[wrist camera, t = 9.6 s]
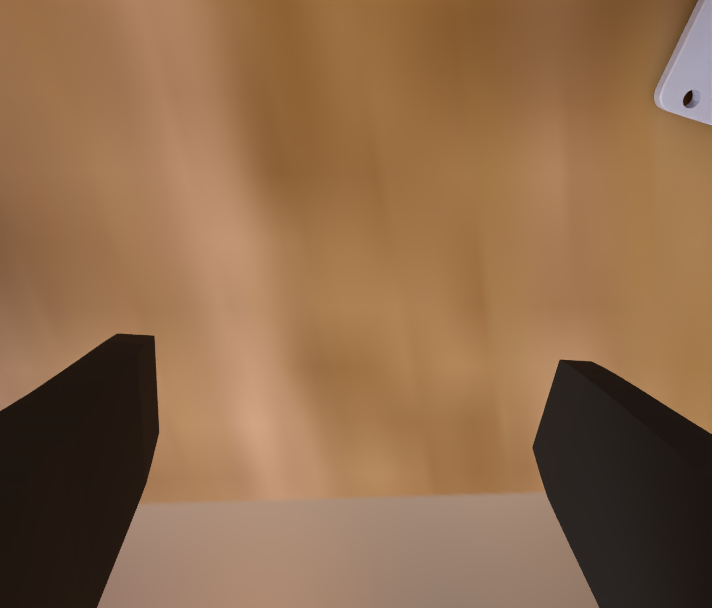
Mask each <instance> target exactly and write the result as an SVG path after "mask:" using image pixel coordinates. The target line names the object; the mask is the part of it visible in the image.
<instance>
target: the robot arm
mask: <svg viewBox="0 0 712 608" xmlns="http://www.w3.org/2000/svg"><path fill="white" fill-rule="evenodd" d="M690 90H692V93H693V97H692V100H691V101H690V103H689V104H687V105H685V106H684V105H683V98H684V96H685V94H686V93H687V92H689V91H690ZM654 101H655V103H656V105H657V107H659V108H661V109H662V110H665V111H668V112H672V113H675V114H678V115H681V116H684V117H687V118H690V119H693V120H696V121H699V122H703V123H706V124H709V125H712V0H698V2H697V4H696V6H695V8H694V10H693V12H692V14H691V16H690V18H689V21H688V23H687V25H686V27H685V29H684V31H683V33H682V35H681V37H680V39H679V41H678V43H677V46H676V48H675V50H674V52H673V54H672V56H671V58H670V60H669V62H668V64H667V66H666V68H665V70H664V73H663V75H662V77H661V79H660V81H659V83H658V85H657V87H656V90H655V93H654ZM158 435H159V419H158V399H157V379H156V359H155V339H154V336H149V335H132V334H116V335H114V336H113V337H111V338H109V339H108V340H106V341H105V342H103V343H102V344H100V345H99V346H98V347H96V348H95V349H93V350H92V351H90V352H89V353H88V354H86V355H85V356H83V357H82V358H80V359H79V360H78V361H76V362H75V363H73V364H72V365H70V366H69V367H68V368H66V369H65V370H63V371H62V372H60V373H59V374H57V375H56V376H54V377H53V378H51V379H50V380H48V381H47V382H46V383H44V384H43V385H41V386H40V387H38V388H37V389H35V390H34V391H32V392H31V393H29V394H28V395H26V396H24V397H23V398H21V399H19V400H18V401H16V402H15V403H13V404H11V405H10V406H8V407H6V408H5V409H3V410H2V411H0V608H97V606H98V603H99V601H100V598H101V596H102V593H103V591H104V588H105V586H106V584H107V581H108V579H109V576H110V573H111V571H112V569H113V566H114V564H115V561H116V559H117V556H118V554H119V551H120V549H121V546H122V543H123V541H124V539H125V536H126V534H127V531H128V529H129V526H130V524H131V521H132V519H133V516H134V513H135V511H136V508H137V506H138V503H139V501H140V498H141V496H142V493H143V490H144V488H145V485H146V482H147V478H148V475H149V471H150V467H151V463H152V459H153V455H154V451H155V447H156V443H157V439H158ZM532 448H533V451H534V455H535V458H536V462H537V465H538V469H539V472H540V475H541V478H542V481H543V485H544V488H545V491H546V494H547V497H548V499H549V501H550V503H551V506H552V508H553V510H554V512H555V514H556V517H557V519H558V521H559V523H560V525H561V527H562V529H563V532H564V534H565V536H566V538H567V540H568V542H569V544H570V547H571V549H572V551H573V553H574V555H575V557H576V559H577V561H578V563H579V566H580V568H581V570H582V572H583V574H584V576H585V578H586V580H587V582H588V584H589V587H590V588H591V591H592V593H593V595H594V597H595V599H596V601H597V603H598V606H599V608H712V434H710V433H709V432H707V431H706V430H704V429H702V428H701V427H699V426H697V425H696V424H694V423H693V422H691V421H689V420H688V419H686V418H685V417H683V416H681V415H680V414H678V413H677V412H675V411H674V410H672V409H670V408H669V407H667V406H666V405H664V404H662V403H661V402H659V401H658V400H656V399H655V398H653V397H651V396H650V395H648V394H647V393H645V392H644V391H642V390H640V389H639V388H637V387H636V386H634V385H632V384H631V383H629V382H628V381H626V380H624V379H623V378H621V377H619V376H618V375H616V374H614V373H613V372H611V371H609V370H607V369H605V368H604V367H602V366H600V365H598V364H596V363H594V362H591V361H574V360H560V361H559V364H558V367H557V370H556V373H555V377H554V380H553V383H552V386H551V389H550V393H549V396H548V399H547V402H546V406H545V409H544V412H543V415H542V418H541V422H540V425H539V428H538V431H537V435H536V438H535V441H534V444H533V447H532Z"/></svg>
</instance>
